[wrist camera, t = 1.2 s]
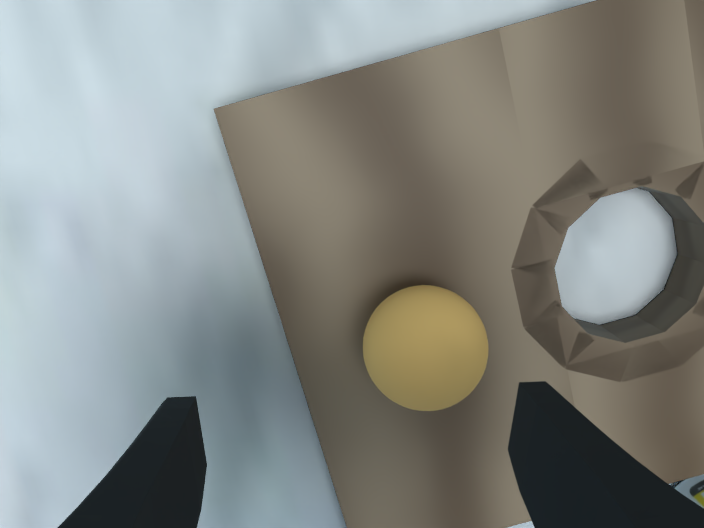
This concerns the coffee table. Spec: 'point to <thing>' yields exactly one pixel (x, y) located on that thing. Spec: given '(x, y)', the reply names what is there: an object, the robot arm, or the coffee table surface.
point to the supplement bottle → (693, 489)
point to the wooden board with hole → (484, 244)
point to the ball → (425, 348)
